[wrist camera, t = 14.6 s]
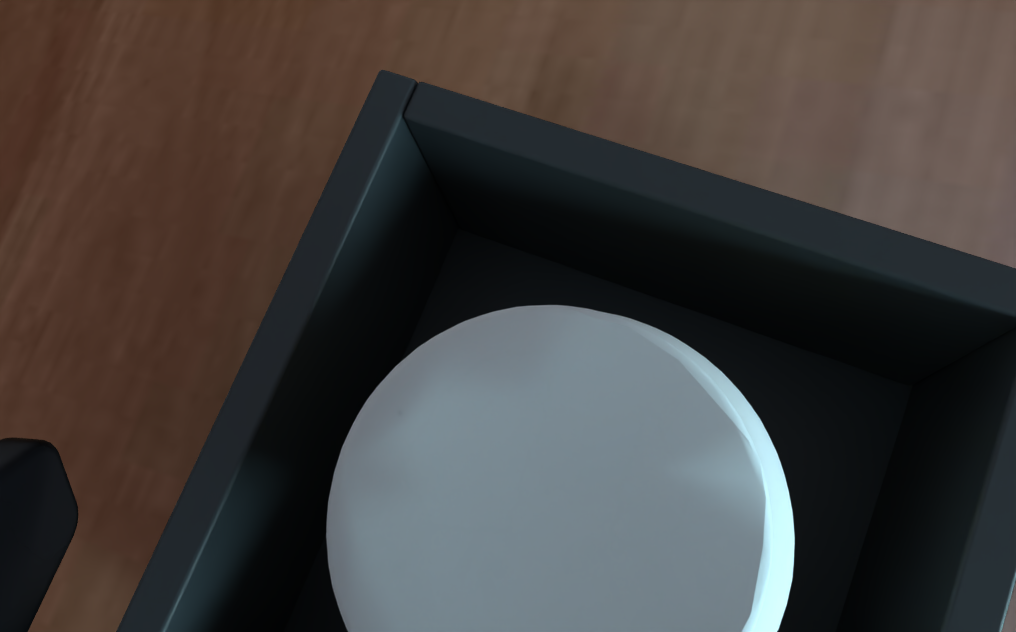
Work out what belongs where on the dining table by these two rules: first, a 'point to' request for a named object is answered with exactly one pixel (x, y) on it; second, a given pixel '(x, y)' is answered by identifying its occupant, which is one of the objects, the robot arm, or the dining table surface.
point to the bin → (642, 297)
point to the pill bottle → (559, 487)
